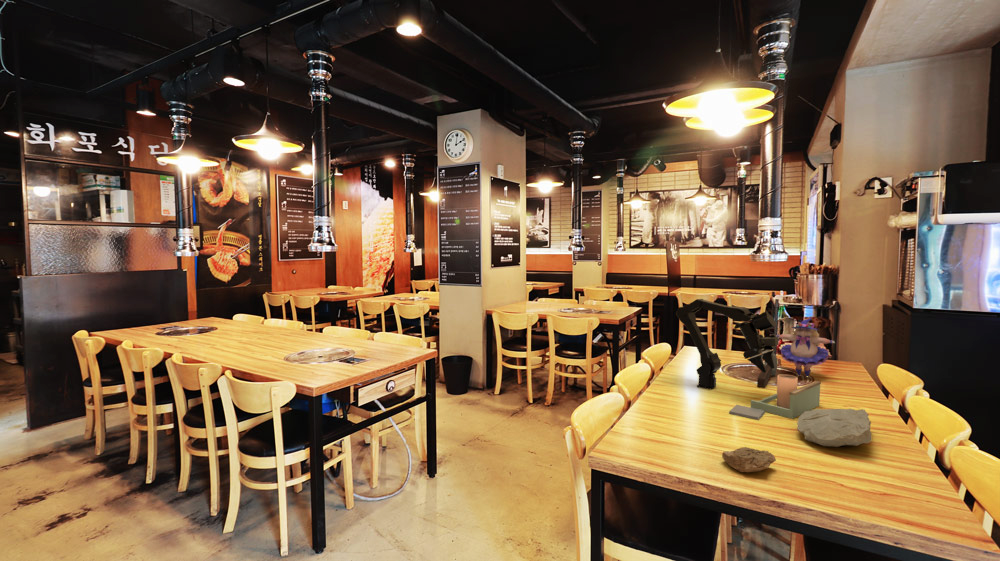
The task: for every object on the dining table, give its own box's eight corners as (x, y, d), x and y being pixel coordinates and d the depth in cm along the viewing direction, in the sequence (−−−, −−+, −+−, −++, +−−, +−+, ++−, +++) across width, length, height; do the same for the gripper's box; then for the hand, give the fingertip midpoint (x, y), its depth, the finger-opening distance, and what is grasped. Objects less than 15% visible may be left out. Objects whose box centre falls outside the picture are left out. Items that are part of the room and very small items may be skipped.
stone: (795, 448, 146) (875, 456, 134) (791, 418, 147) (871, 424, 135) (804, 425, 173) (872, 430, 161) (801, 400, 173) (868, 403, 161)
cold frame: (750, 407, 183) (751, 383, 182) (778, 396, 198) (779, 373, 197) (793, 419, 170) (794, 393, 170) (819, 405, 185) (820, 381, 184)
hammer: (766, 396, 209) (776, 374, 232) (767, 373, 207) (777, 352, 230) (754, 394, 212) (766, 372, 235) (754, 371, 210) (766, 351, 233)
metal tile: (729, 413, 176) (729, 411, 176) (736, 407, 184) (736, 404, 183) (758, 420, 169) (758, 417, 169) (764, 412, 177) (764, 410, 177)
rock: (717, 469, 132) (717, 452, 131) (726, 455, 140) (726, 440, 140) (770, 483, 124) (770, 465, 123) (776, 468, 132) (776, 451, 132)
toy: (769, 376, 228) (772, 316, 226) (777, 368, 244) (779, 312, 242) (831, 386, 212) (834, 321, 210) (836, 376, 228) (838, 316, 226)
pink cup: (774, 407, 183) (775, 376, 183) (778, 403, 188) (779, 373, 188) (794, 411, 179) (795, 379, 178) (797, 406, 184) (799, 376, 183)
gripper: (761, 330, 183) (780, 368, 178) (778, 325, 195) (796, 360, 191) (735, 340, 191) (753, 376, 186) (753, 335, 203) (770, 368, 198)
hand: (769, 370), depth 190 cm, fingers open, 9 cm apart
